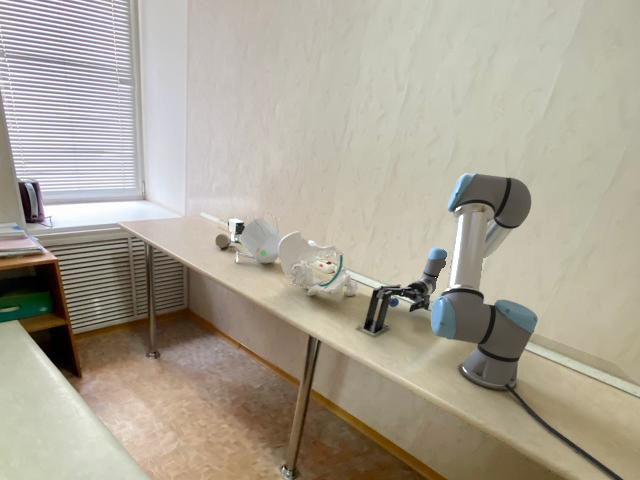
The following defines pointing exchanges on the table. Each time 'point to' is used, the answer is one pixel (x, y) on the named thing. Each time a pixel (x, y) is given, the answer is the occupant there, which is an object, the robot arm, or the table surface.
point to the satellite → (261, 240)
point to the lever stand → (370, 322)
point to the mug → (222, 240)
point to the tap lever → (393, 300)
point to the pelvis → (302, 249)
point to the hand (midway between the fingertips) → (393, 302)
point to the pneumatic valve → (236, 228)
